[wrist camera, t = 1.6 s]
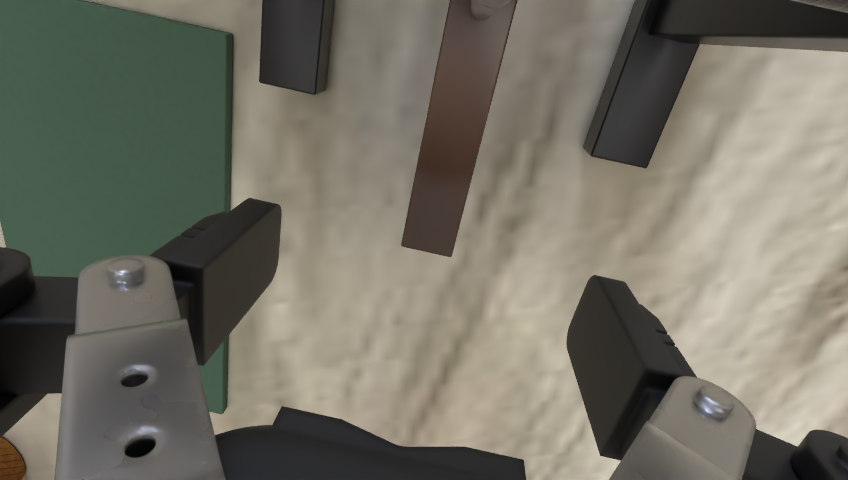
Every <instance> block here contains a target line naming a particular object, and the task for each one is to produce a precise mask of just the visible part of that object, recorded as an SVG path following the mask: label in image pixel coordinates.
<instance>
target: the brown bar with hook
mask: <svg viewBox="0 0 848 480" xmlns="http://www.w3.org/2000/svg"><path fill="white" fill-rule="evenodd" d="M516 4H517V0H450V3H449V8H448V13H447V18H446V23H445V28H444V33H443V38H442V43H441V48H440V53H439V58H438V63H437V68H436V73H435V78H434V83H433V88H432V93H431V98H430V103H429V108H428V113H427V118H426V123H425V128H424V133H423V138H422V143H421V148H420V153H419V158H418V163H417V168H416V173H415V178H414V183H413V188H412V193H411V198H410V203H409V208H408V213H407V218H406V223H405V228H404V233H403V238H402V243H401V246H403V247H407V248H412V249H416V250H421V251H425V252H430V253H434V254H439V255H443V256H448V257H451V256H452V253H453V249H454V245H455V241H456V237H457V233H458V230H459V226H460V222H461V218H462V214H463V210H464V206H465V202H466V198H467V195H468V191H469V187H470V183H471V179H472V175H473V171H474V167H475V163H476V159H477V156H478V152H479V148H480V144H481V140H482V136H483V132H484V128H485V124H486V121H487V117H488V113H489V109H490V105H491V101H492V97H493V93H494V89H495V85H496V82H497V78H498V74H499V70H500V66H501V62H502V58H503V54H504V50H505V47H506V43H507V39H508V35H509V31H510V27H511V23H512V19H513V15H514V11H515V8H516Z"/></svg>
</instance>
